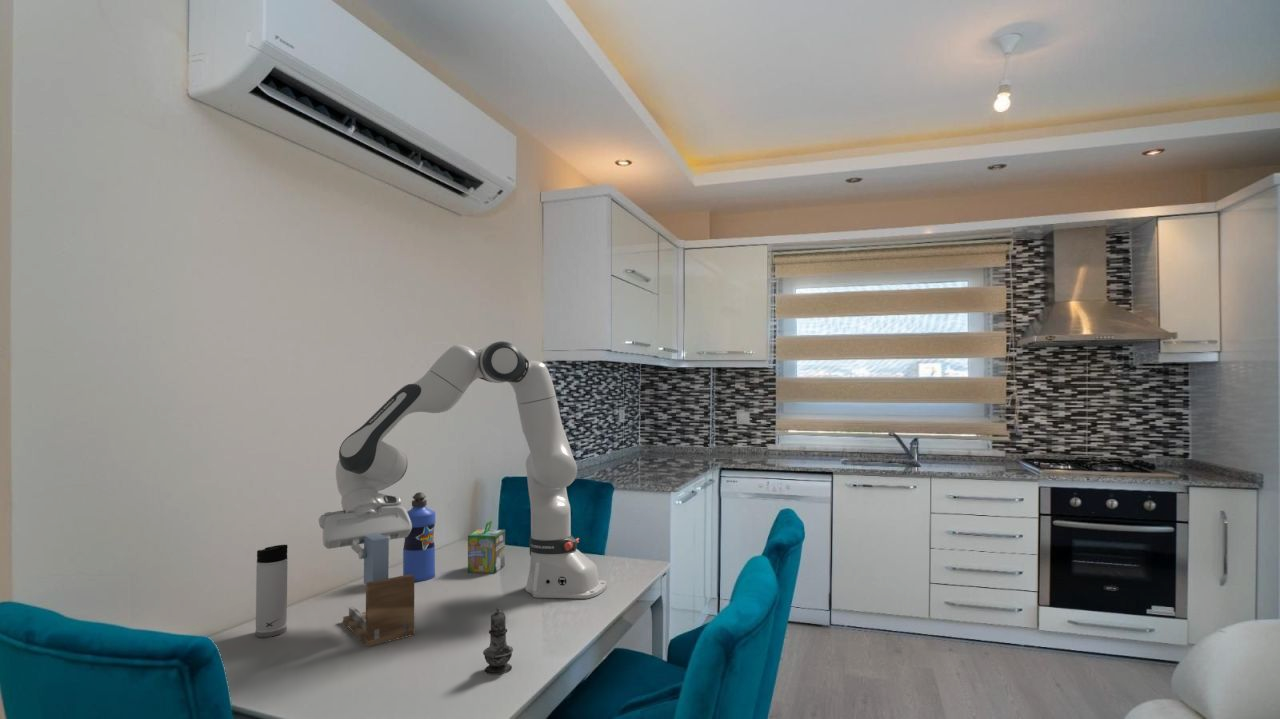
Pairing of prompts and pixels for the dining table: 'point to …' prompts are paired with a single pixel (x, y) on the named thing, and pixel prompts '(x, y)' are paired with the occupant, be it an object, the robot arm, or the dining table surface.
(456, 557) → the dining table surface
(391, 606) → the brown wooden holder
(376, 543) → the pale blue rectangular block
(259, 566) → the travel mug
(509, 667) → the salt shaker
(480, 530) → the chalk box
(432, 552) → the water bottle
